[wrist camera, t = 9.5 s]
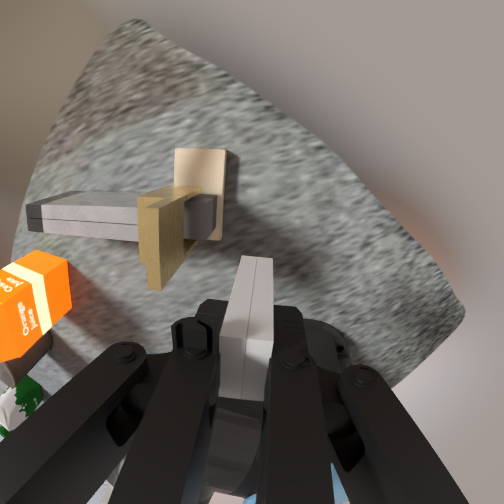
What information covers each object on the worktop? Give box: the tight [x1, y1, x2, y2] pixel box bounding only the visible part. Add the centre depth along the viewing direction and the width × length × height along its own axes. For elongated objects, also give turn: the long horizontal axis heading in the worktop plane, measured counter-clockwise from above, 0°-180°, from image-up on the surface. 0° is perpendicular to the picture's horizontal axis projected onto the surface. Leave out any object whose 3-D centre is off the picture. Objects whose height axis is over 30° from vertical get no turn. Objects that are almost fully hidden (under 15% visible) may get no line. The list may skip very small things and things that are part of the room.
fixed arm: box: [27, 218, 138, 242], centre depth 28 cm, size 16×2×9 cm, turn 85°
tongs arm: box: [26, 191, 149, 225], centre depth 27 cm, size 16×2×9 cm, turn 85°
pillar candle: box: [0, 330, 53, 388], centre depth 34 cm, size 10×10×15 cm
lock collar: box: [137, 186, 202, 291], centre depth 23 cm, size 4×6×12 cm, turn 176°
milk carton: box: [0, 375, 43, 438], centre depth 40 cm, size 9×9×20 cm
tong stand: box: [174, 149, 227, 241], centre depth 28 cm, size 6×10×6 cm, turn 175°
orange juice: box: [0, 250, 72, 362], centre depth 27 cm, size 8×9×20 cm
